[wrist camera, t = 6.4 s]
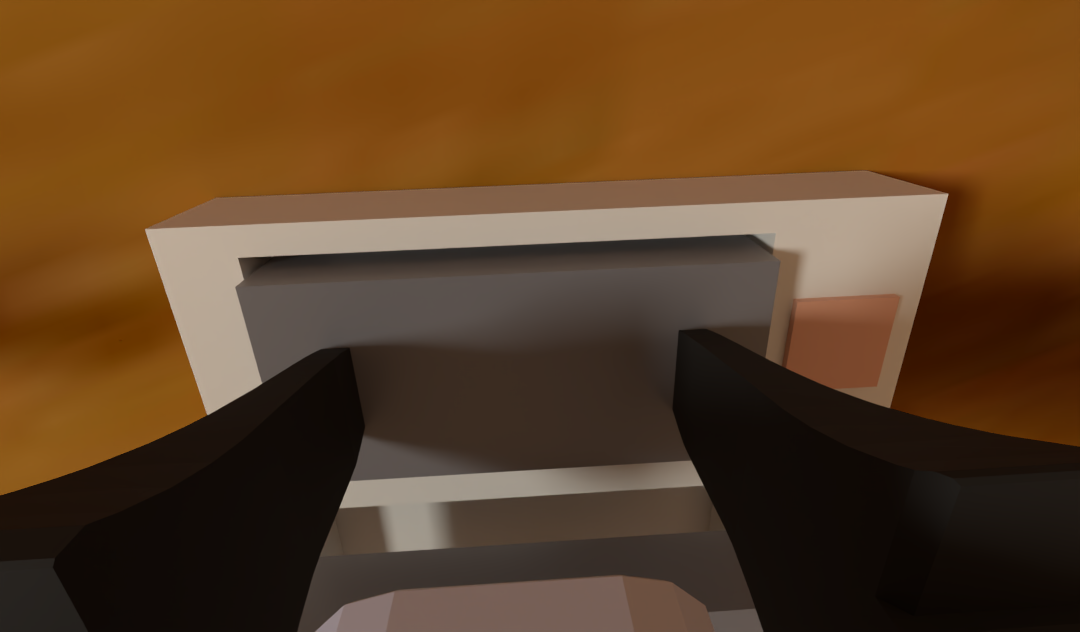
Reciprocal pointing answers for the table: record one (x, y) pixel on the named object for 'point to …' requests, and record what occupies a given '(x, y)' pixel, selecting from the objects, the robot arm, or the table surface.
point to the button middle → (545, 571)
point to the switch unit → (562, 217)
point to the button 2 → (512, 344)
